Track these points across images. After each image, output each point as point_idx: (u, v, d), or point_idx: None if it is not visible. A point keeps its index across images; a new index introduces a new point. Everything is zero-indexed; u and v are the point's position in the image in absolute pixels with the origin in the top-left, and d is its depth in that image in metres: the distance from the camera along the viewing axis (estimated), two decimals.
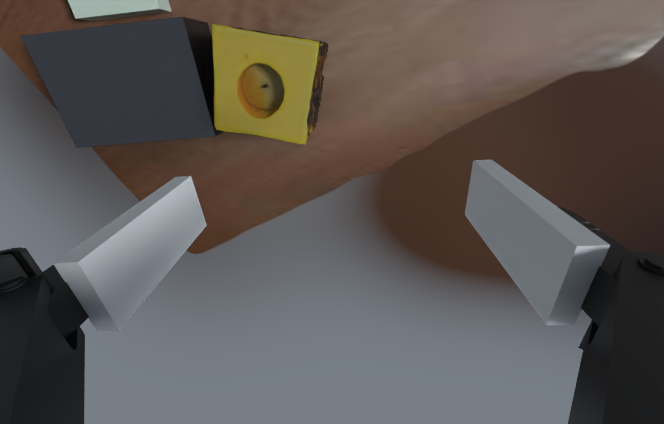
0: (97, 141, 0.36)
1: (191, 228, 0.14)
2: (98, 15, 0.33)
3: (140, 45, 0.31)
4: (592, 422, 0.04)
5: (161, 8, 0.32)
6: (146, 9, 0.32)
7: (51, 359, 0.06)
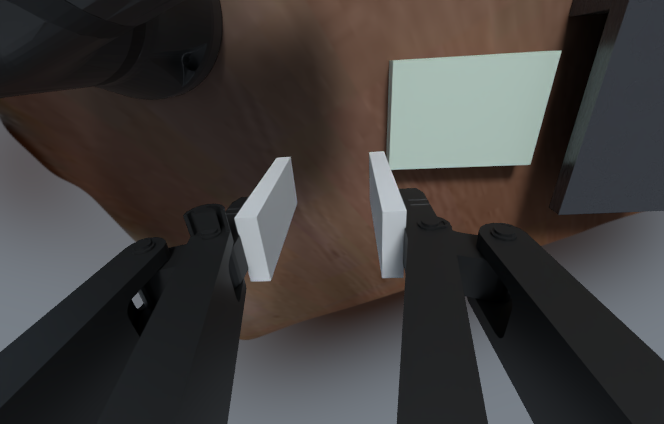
0: None
1: (292, 203, 0.15)
2: (536, 136, 0.28)
3: (636, 63, 0.22)
4: None
5: (556, 51, 0.25)
6: (555, 70, 0.25)
7: (224, 309, 0.07)
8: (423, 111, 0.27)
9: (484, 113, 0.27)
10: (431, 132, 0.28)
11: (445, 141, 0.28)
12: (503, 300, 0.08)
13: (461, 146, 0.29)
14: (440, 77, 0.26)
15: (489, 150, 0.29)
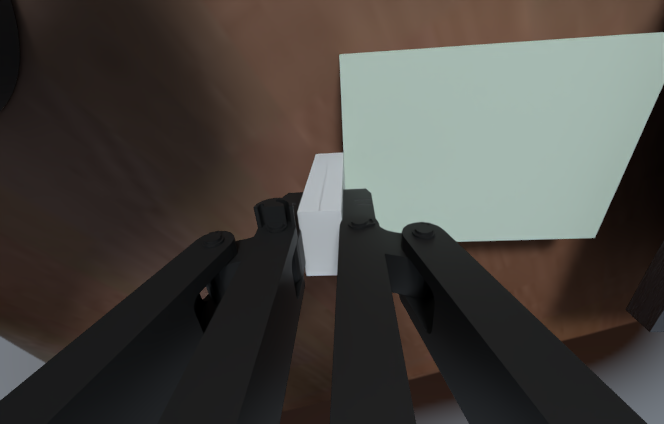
0: None
1: None
2: (612, 193, 0.15)
3: None
4: None
5: None
6: None
7: (285, 307, 0.07)
8: (404, 150, 0.14)
9: (519, 152, 0.14)
10: (419, 185, 0.15)
11: (444, 201, 0.16)
12: (431, 295, 0.09)
13: (474, 209, 0.16)
14: (435, 86, 0.13)
15: (524, 214, 0.16)
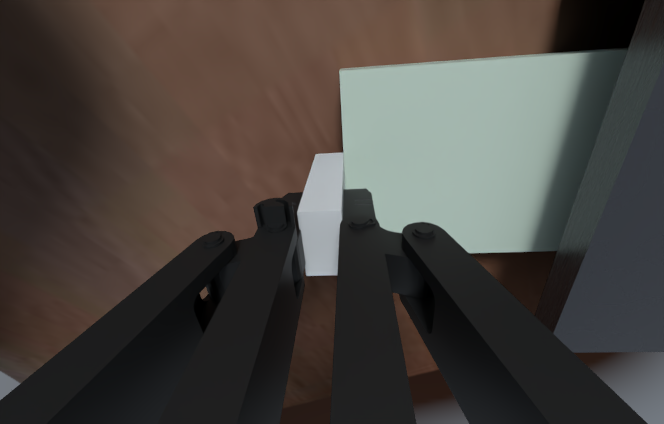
0: None
1: None
2: None
3: None
4: None
5: None
6: None
7: (284, 307, 0.07)
8: (404, 164, 0.15)
9: (519, 166, 0.14)
10: (420, 198, 0.15)
11: (445, 213, 0.16)
12: (431, 295, 0.09)
13: (475, 222, 0.16)
14: (435, 101, 0.13)
15: (526, 227, 0.16)
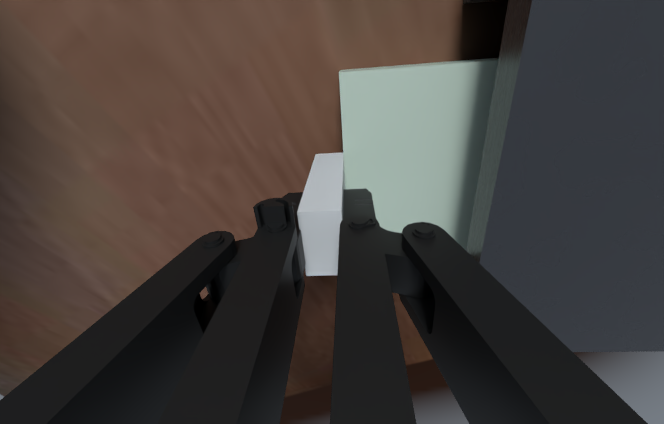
0: None
1: None
2: None
3: (572, 104, 0.10)
4: None
5: None
6: None
7: (284, 307, 0.07)
8: (404, 165, 0.15)
9: None
10: (419, 198, 0.15)
11: (445, 214, 0.16)
12: (431, 295, 0.09)
13: None
14: (434, 102, 0.13)
15: None
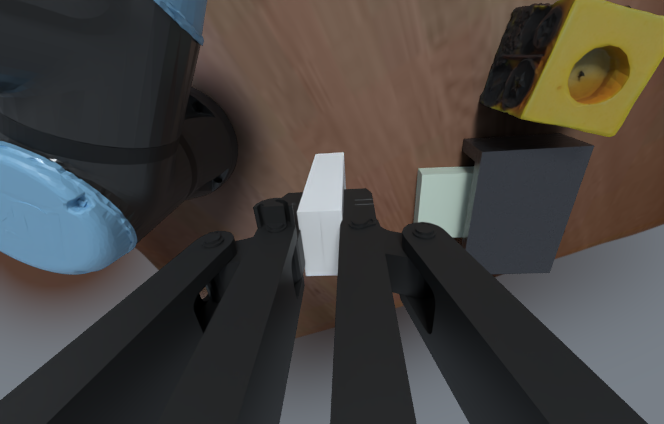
0: (551, 255, 0.39)
1: None
2: None
3: (491, 193, 0.36)
4: None
5: None
6: None
7: (284, 307, 0.07)
8: (441, 204, 0.40)
9: None
10: (446, 215, 0.41)
11: (455, 221, 0.42)
12: (431, 295, 0.09)
13: None
14: (453, 184, 0.39)
15: None
